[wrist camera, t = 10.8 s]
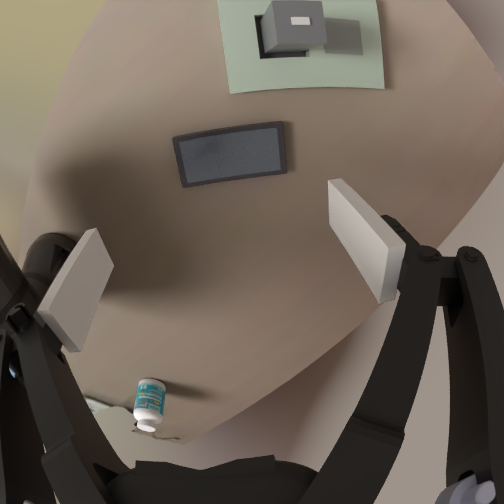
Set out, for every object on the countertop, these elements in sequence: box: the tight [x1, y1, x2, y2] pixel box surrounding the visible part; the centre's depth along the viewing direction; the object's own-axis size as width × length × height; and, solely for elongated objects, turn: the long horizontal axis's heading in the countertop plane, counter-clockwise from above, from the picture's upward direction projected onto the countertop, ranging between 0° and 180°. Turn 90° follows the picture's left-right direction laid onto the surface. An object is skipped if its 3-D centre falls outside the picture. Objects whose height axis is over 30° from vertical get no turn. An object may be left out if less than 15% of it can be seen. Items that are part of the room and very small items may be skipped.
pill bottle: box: [134, 378, 166, 432], centre depth 62 cm, size 8×7×14 cm
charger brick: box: [260, 0, 327, 54], centre depth 23 cm, size 4×4×11 cm
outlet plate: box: [217, 0, 384, 94], centre depth 27 cm, size 20×14×2 cm
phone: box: [172, 121, 287, 188], centre depth 36 cm, size 14×7×1 cm, turn 97°
